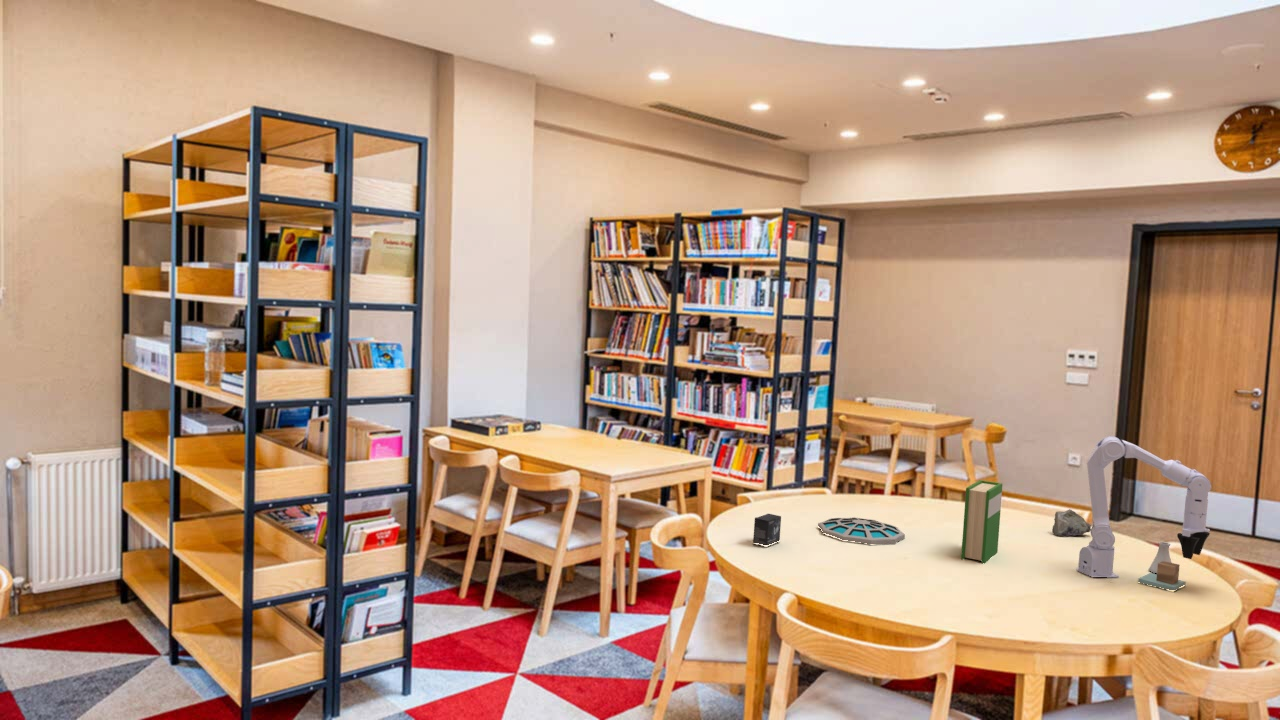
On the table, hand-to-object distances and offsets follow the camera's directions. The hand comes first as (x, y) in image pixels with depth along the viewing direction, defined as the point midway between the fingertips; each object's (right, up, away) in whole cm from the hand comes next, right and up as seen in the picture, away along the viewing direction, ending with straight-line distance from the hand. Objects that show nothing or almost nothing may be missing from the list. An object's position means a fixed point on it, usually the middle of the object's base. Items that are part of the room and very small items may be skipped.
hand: (1191, 556), depth 263 cm
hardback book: (-55, -6, +26) cm, 61 cm away
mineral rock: (-8, -6, +58) cm, 59 cm away
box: (-127, -3, +28) cm, 130 cm away
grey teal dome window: (-90, -3, +48) cm, 102 cm away
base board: (-8, -9, +2) cm, 13 cm away
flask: (0, -9, +15) cm, 18 cm away
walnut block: (-7, -8, +1) cm, 11 cm away
